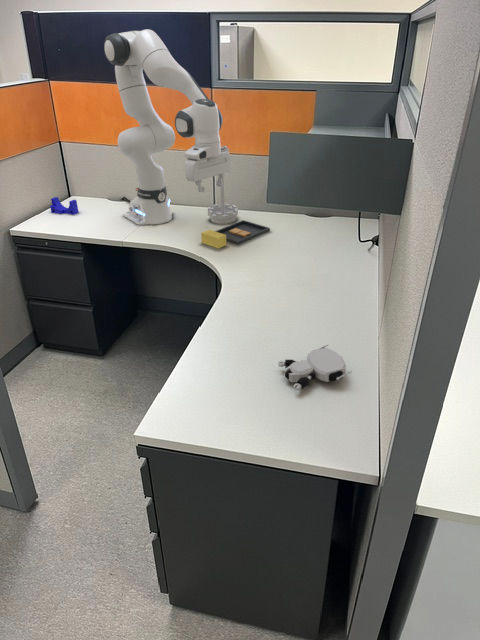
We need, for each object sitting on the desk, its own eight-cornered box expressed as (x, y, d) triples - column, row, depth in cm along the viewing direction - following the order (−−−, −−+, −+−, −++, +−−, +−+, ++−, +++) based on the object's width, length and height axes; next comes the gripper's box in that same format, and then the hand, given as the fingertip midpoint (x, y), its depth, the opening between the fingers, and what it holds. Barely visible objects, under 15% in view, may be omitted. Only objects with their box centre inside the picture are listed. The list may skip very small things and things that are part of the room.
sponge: (201, 244, 194) (201, 232, 191) (209, 241, 197) (209, 229, 194) (218, 250, 189) (217, 238, 186) (226, 247, 192) (226, 234, 189)
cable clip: (51, 212, 229) (48, 199, 226) (58, 209, 233) (55, 196, 230) (72, 215, 225) (69, 202, 222) (78, 212, 228) (76, 199, 225)
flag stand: (220, 213, 225) (217, 144, 210) (243, 218, 218) (243, 148, 203) (202, 221, 216) (198, 150, 200) (226, 227, 209) (224, 154, 194)
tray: (211, 237, 201) (210, 232, 200) (243, 224, 213) (243, 220, 212) (237, 246, 192) (237, 241, 191) (269, 232, 205) (269, 227, 204)
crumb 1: (228, 232, 203) (228, 230, 203) (235, 229, 206) (235, 227, 205) (236, 234, 201) (236, 232, 200) (242, 232, 203) (242, 230, 203)
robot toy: (295, 400, 115) (353, 383, 119) (295, 385, 113) (354, 368, 116) (275, 370, 125) (329, 355, 129) (275, 356, 123) (330, 341, 126)
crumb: (236, 235, 201) (236, 233, 200) (243, 232, 203) (243, 230, 203) (244, 237, 198) (244, 235, 198) (250, 234, 201) (250, 232, 200)
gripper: (222, 143, 185) (223, 181, 191) (181, 153, 172) (184, 193, 178) (234, 145, 181) (235, 183, 188) (193, 156, 168) (196, 196, 175)
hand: (210, 188), depth 183 cm, fingers open, 8 cm apart
